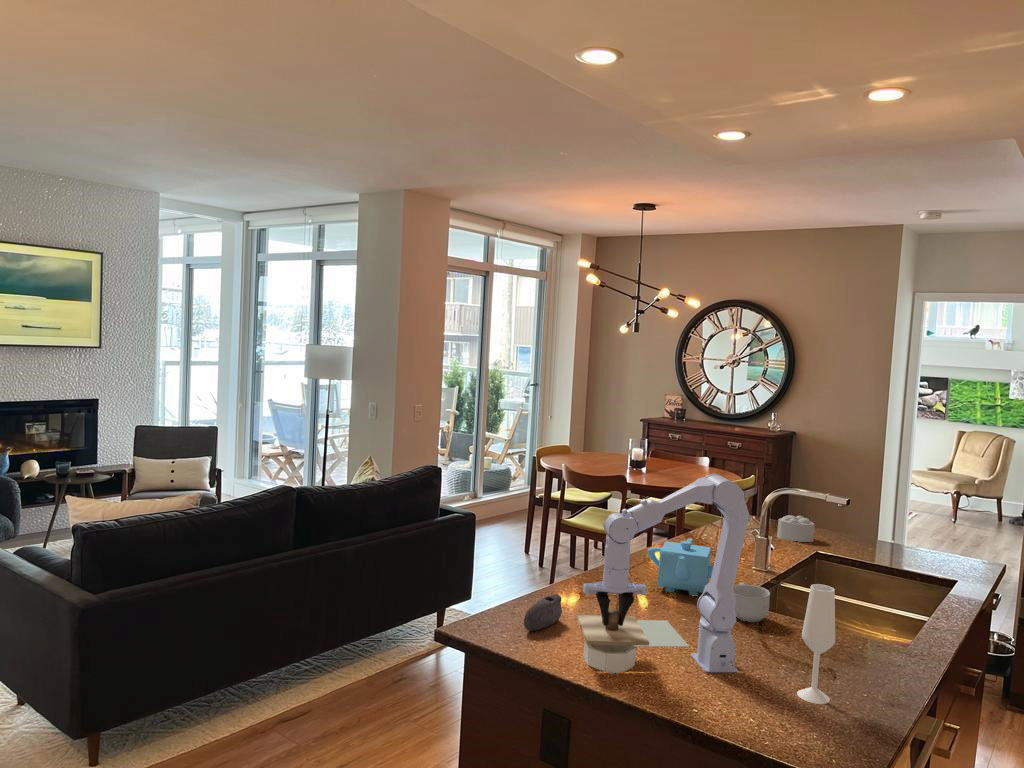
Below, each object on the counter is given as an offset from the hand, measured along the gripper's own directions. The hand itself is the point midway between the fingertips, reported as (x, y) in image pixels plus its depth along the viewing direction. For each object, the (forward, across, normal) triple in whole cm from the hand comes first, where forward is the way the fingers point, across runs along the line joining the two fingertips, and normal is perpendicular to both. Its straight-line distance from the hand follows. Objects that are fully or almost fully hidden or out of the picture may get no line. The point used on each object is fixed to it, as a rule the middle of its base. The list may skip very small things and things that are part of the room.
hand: (612, 624), depth 180 cm
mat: (+9, -14, -16) cm, 23 cm away
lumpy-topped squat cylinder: (+9, -104, -113) cm, 154 cm away
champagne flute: (+9, -41, +17) cm, 45 cm away
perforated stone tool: (+9, +12, -21) cm, 26 cm away
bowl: (+9, 0, +1) cm, 9 cm away
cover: (+2, 0, 0) cm, 2 cm away
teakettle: (+9, -37, -51) cm, 63 cm away
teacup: (+9, -46, -30) cm, 56 cm away
